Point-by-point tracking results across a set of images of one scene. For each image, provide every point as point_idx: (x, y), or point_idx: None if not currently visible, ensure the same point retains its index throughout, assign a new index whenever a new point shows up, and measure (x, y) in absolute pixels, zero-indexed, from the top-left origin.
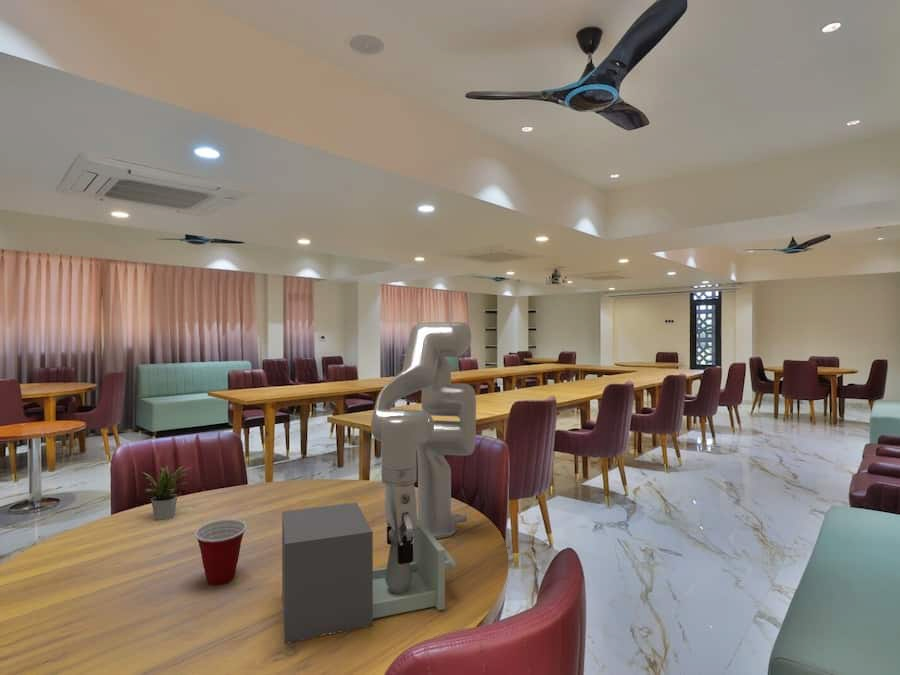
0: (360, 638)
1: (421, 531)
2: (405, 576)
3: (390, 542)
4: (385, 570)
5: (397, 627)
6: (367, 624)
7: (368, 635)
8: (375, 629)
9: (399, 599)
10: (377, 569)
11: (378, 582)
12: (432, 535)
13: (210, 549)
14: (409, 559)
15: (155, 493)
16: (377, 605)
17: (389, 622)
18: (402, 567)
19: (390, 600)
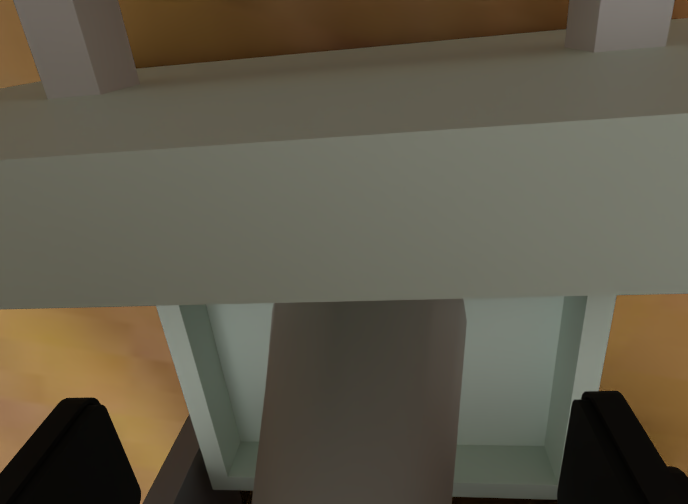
0: (668, 459)
1: (44, 291)
2: (457, 313)
3: (128, 498)
4: (194, 338)
5: (681, 322)
6: None
7: (665, 433)
8: (637, 404)
9: (606, 343)
10: (190, 382)
11: (266, 356)
12: (419, 135)
13: None
14: (672, 470)
15: None
16: None
17: (615, 345)
18: (457, 380)
19: (594, 389)
